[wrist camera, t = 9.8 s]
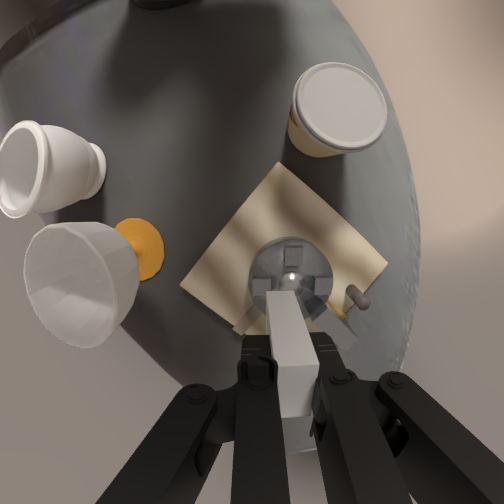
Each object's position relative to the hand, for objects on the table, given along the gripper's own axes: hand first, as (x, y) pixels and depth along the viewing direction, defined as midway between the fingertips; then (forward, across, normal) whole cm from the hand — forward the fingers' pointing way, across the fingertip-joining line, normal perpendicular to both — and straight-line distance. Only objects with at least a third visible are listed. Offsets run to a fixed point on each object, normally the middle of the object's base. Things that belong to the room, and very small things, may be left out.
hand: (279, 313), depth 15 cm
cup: (+21, -18, -1) cm, 28 cm away
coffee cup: (+22, +7, +14) cm, 27 cm away
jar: (+22, -26, +11) cm, 36 cm away
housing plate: (+21, +3, -4) cm, 22 cm away
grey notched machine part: (+19, +5, -6) cm, 20 cm away
